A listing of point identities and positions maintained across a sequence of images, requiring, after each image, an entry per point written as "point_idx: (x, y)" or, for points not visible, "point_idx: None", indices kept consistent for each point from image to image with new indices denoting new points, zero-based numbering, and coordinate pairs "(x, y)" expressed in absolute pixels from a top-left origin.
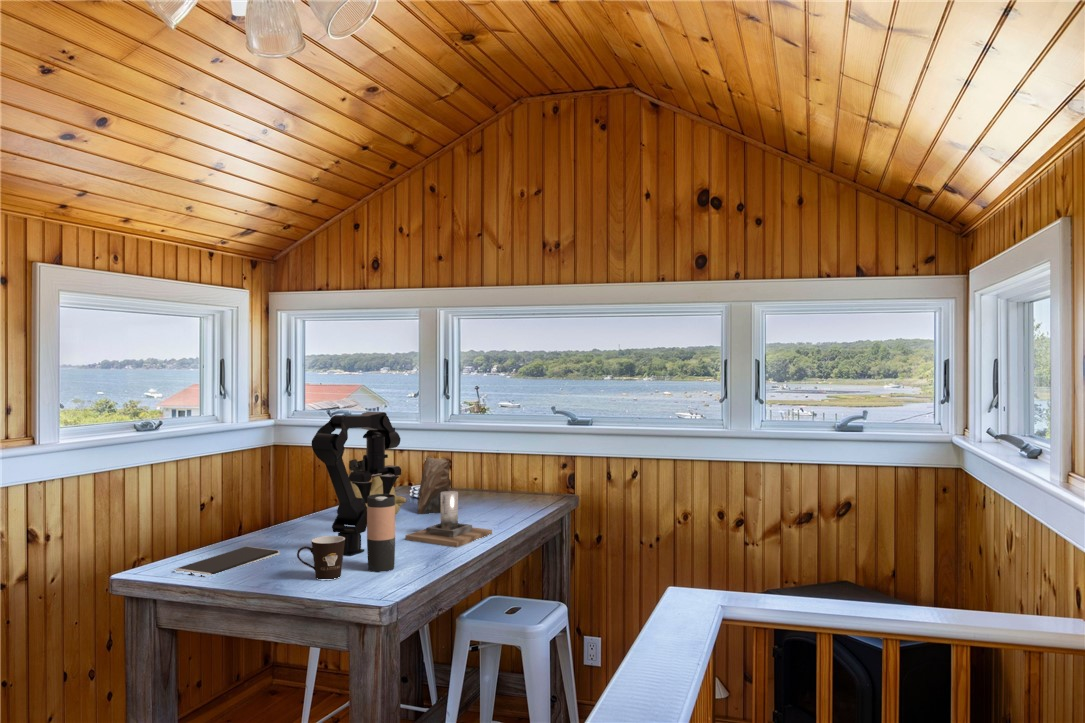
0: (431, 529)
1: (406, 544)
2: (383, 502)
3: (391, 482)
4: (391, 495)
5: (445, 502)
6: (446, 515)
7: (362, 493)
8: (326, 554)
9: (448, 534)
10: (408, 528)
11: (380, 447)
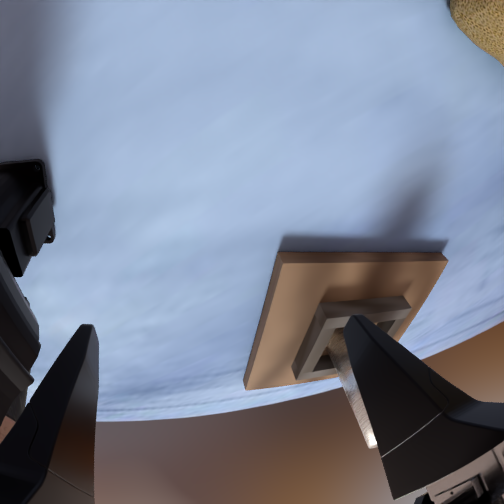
0: (318, 330)
1: (218, 288)
2: None
3: (384, 463)
4: None
5: (359, 420)
6: (343, 386)
7: (40, 412)
8: None
9: (296, 363)
10: (441, 164)
11: None
